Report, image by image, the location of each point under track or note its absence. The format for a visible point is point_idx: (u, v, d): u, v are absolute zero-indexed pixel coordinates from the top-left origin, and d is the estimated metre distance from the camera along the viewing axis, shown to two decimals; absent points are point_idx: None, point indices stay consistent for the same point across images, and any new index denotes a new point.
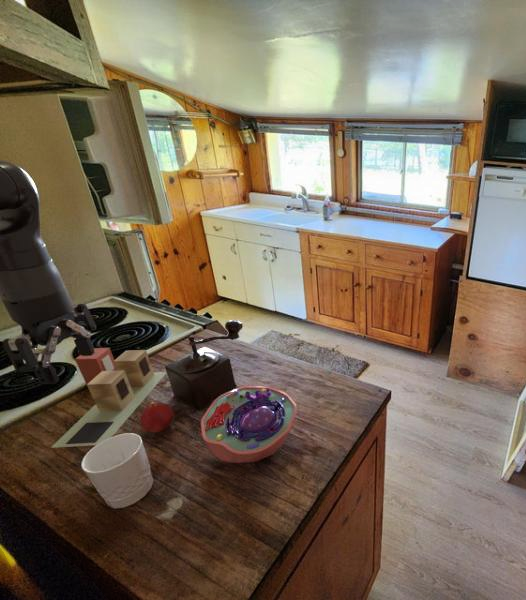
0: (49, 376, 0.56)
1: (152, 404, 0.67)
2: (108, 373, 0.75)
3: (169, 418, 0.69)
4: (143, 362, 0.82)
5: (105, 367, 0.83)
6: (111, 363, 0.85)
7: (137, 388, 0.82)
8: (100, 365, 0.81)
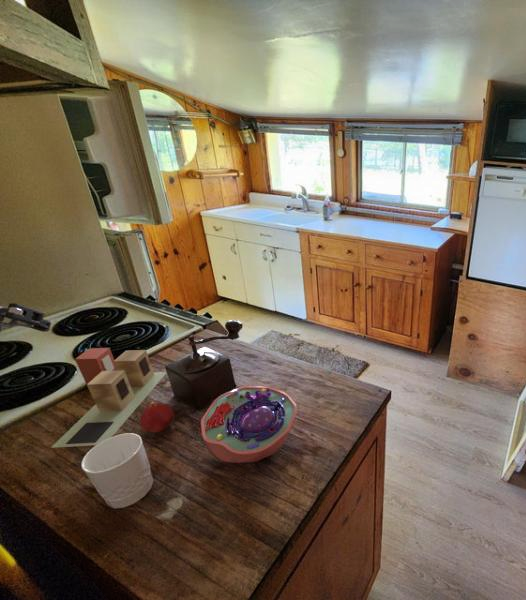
0: None
1: (152, 404, 0.67)
2: (108, 373, 0.75)
3: (169, 418, 0.69)
4: (143, 362, 0.82)
5: (105, 367, 0.83)
6: (111, 363, 0.85)
7: (137, 388, 0.82)
8: (100, 365, 0.81)
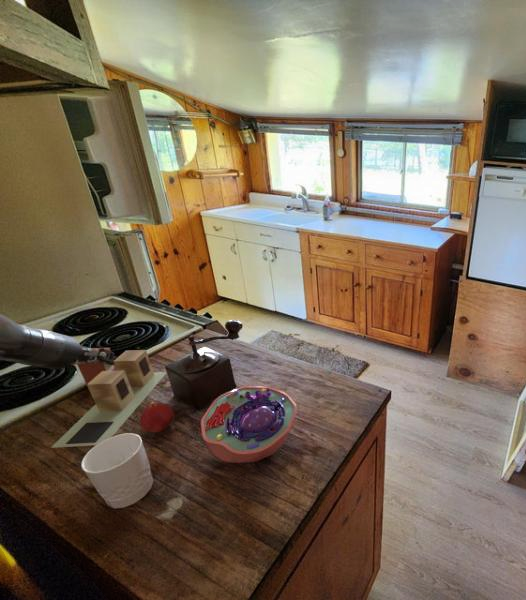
0: None
1: (152, 404, 0.67)
2: (108, 373, 0.75)
3: (169, 418, 0.69)
4: (143, 362, 0.82)
5: (105, 367, 0.83)
6: None
7: (137, 388, 0.82)
8: (100, 365, 0.81)
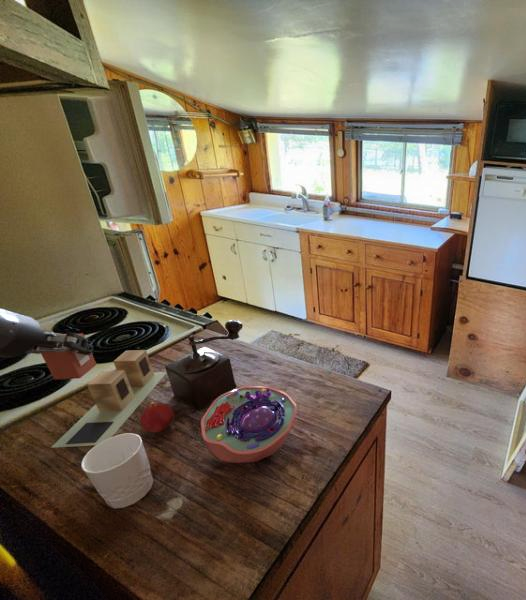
0: None
1: (152, 404, 0.67)
2: (108, 373, 0.75)
3: (169, 418, 0.69)
4: (143, 362, 0.82)
5: (77, 357, 0.67)
6: None
7: (137, 388, 0.82)
8: (70, 354, 0.65)
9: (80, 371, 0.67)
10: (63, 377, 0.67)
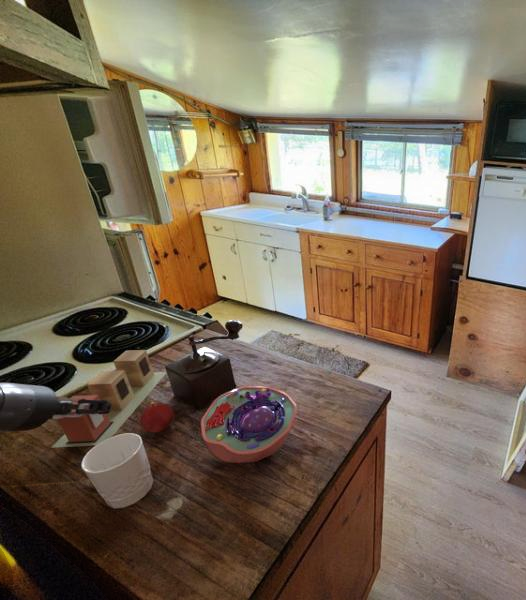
0: None
1: (152, 404, 0.67)
2: (108, 373, 0.75)
3: (169, 418, 0.69)
4: (143, 362, 0.82)
5: (92, 420, 0.67)
6: None
7: (137, 388, 0.82)
8: (85, 419, 0.65)
9: (95, 434, 0.67)
10: (78, 440, 0.67)
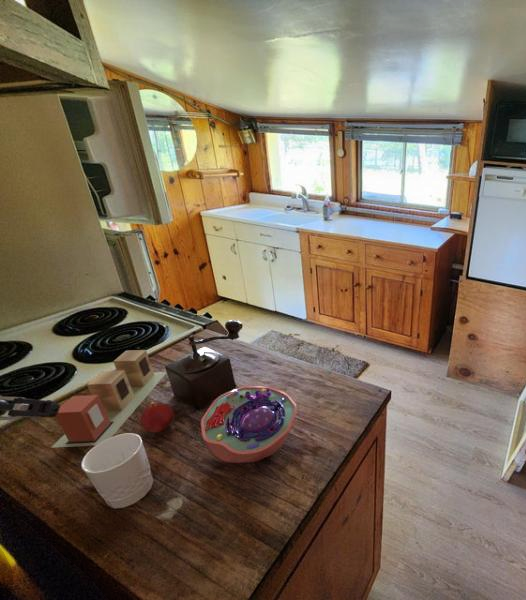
0: None
1: (152, 404, 0.67)
2: (108, 373, 0.75)
3: (169, 418, 0.69)
4: (143, 362, 0.82)
5: (92, 420, 0.67)
6: (100, 413, 0.69)
7: (137, 388, 0.82)
8: (85, 419, 0.65)
9: (95, 434, 0.67)
10: (78, 440, 0.67)
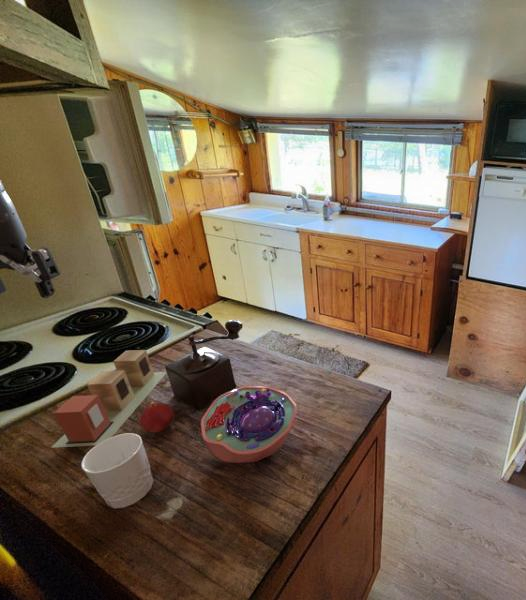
0: None
1: (152, 404, 0.67)
2: (108, 373, 0.75)
3: (169, 418, 0.69)
4: (143, 362, 0.82)
5: (92, 420, 0.67)
6: (100, 413, 0.69)
7: (137, 388, 0.82)
8: (85, 419, 0.65)
9: (95, 434, 0.67)
10: (78, 440, 0.67)
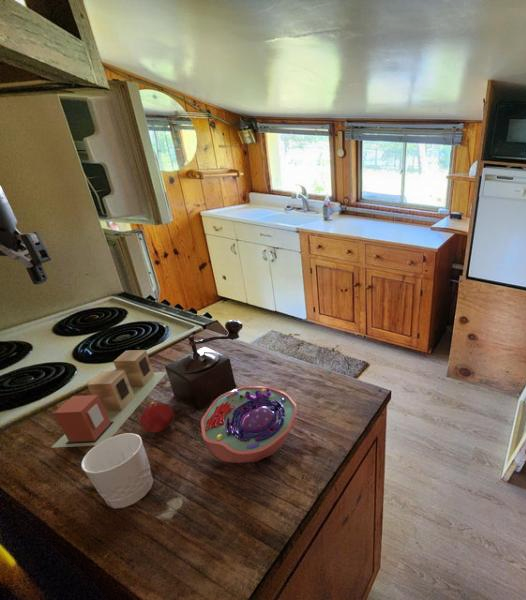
0: None
1: (152, 404, 0.67)
2: (108, 373, 0.75)
3: (169, 418, 0.69)
4: (143, 362, 0.82)
5: (92, 420, 0.67)
6: (100, 413, 0.69)
7: (137, 388, 0.82)
8: (85, 419, 0.65)
9: (95, 434, 0.67)
10: (78, 440, 0.67)
